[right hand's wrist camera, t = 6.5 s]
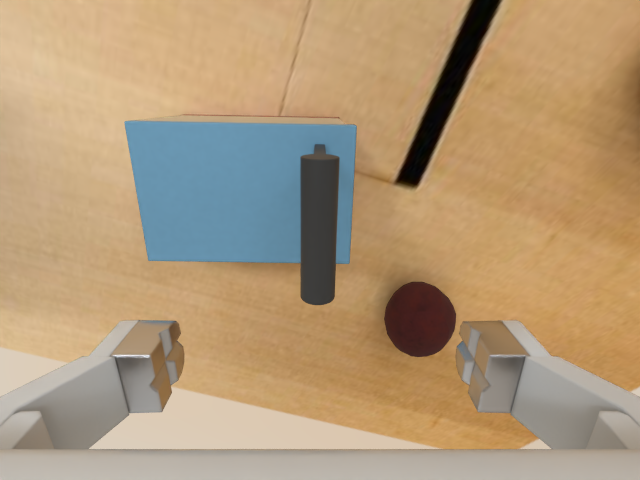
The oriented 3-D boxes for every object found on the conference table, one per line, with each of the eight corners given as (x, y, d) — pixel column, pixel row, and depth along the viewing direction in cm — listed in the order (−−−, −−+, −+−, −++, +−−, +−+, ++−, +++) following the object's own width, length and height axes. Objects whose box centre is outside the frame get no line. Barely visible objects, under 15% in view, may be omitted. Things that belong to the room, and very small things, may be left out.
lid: (355, 124, 25) (373, 136, 16) (348, 257, 28) (360, 322, 20) (132, 120, 24) (38, 130, 16) (154, 255, 28) (86, 318, 20)
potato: (384, 333, 43) (395, 376, 36) (375, 276, 40) (386, 311, 33) (445, 323, 42) (469, 365, 36) (441, 265, 39) (465, 298, 33)
